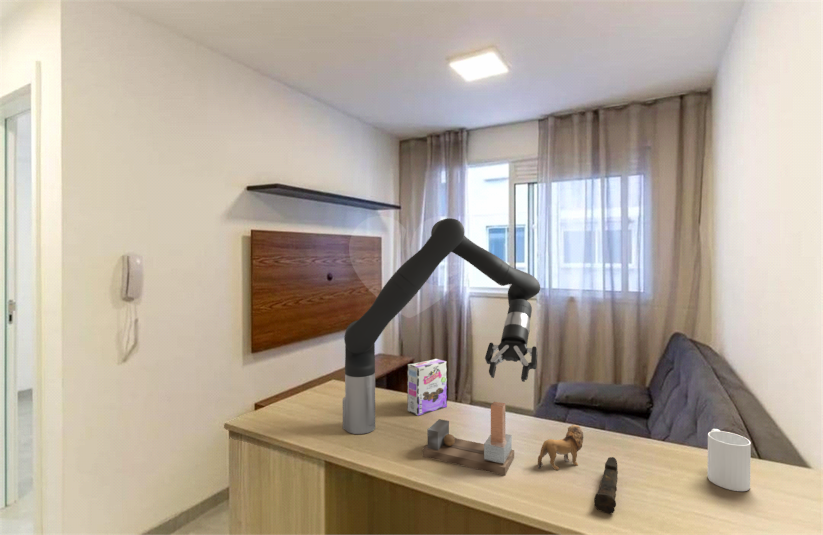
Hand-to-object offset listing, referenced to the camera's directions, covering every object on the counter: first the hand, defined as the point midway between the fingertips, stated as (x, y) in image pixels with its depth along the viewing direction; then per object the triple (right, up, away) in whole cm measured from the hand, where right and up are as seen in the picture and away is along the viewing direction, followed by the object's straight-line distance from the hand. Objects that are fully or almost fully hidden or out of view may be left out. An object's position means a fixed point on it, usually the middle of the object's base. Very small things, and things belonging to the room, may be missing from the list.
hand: (507, 378), depth 113 cm
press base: (-12, -19, -5) cm, 23 cm away
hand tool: (+18, -20, -21) cm, 34 cm away
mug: (+48, -20, -16) cm, 54 cm away
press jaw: (-4, -17, -9) cm, 20 cm away
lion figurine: (+12, -20, -9) cm, 24 cm away
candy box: (-21, -19, +30) cm, 41 cm away
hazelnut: (-16, -17, -3) cm, 24 cm away
